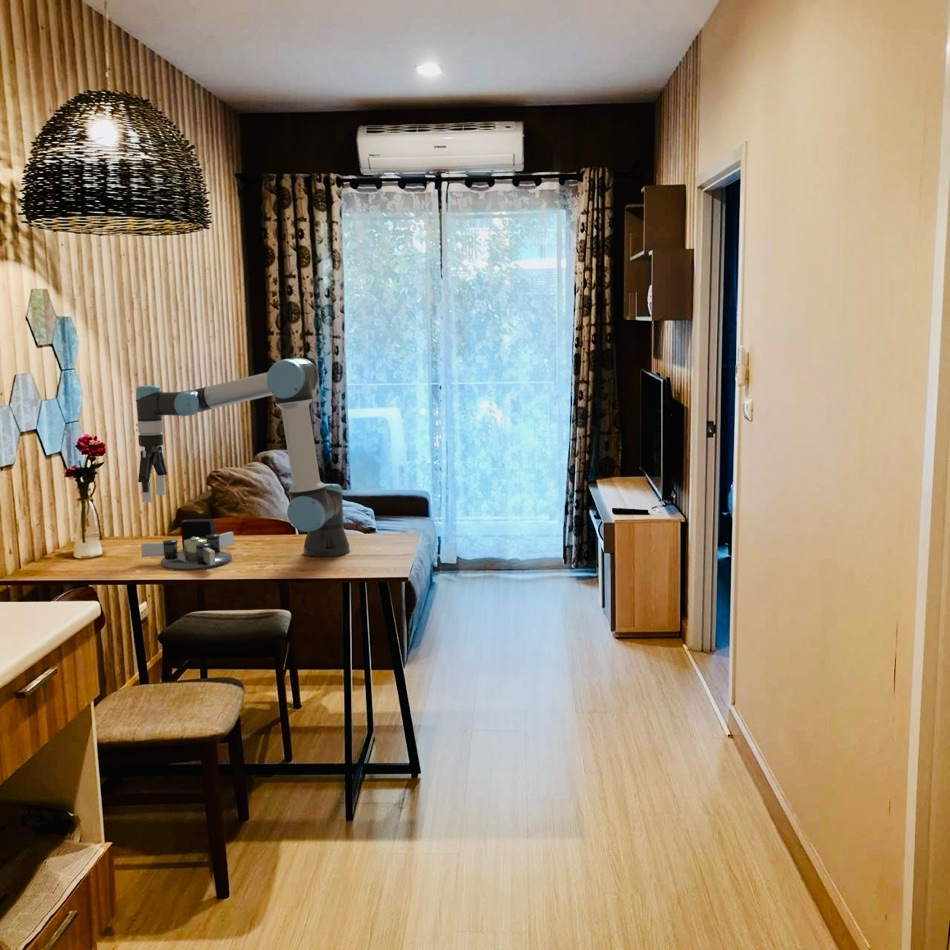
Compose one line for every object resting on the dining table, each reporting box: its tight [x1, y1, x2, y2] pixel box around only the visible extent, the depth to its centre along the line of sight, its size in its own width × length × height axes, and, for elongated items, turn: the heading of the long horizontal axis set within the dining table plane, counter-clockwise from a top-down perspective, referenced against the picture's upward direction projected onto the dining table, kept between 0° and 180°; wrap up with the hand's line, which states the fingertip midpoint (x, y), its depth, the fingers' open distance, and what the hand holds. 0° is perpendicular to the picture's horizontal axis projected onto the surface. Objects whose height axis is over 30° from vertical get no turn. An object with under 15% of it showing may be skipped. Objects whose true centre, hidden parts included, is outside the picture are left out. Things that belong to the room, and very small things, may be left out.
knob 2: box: [196, 543, 215, 565], centre depth 301 cm, size 11×4×6 cm, turn 33°
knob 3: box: [206, 531, 235, 553], centre depth 321 cm, size 11×4×6 cm, turn 153°
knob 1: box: [140, 538, 179, 560], centre depth 310 cm, size 11×4×6 cm, turn 93°
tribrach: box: [160, 537, 233, 571], centre depth 311 cm, size 22×22×8 cm
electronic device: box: [180, 518, 215, 551], centre depth 330 cm, size 4×10×10 cm, turn 89°
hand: (154, 498), depth 315 cm, fingers open, 13 cm apart
